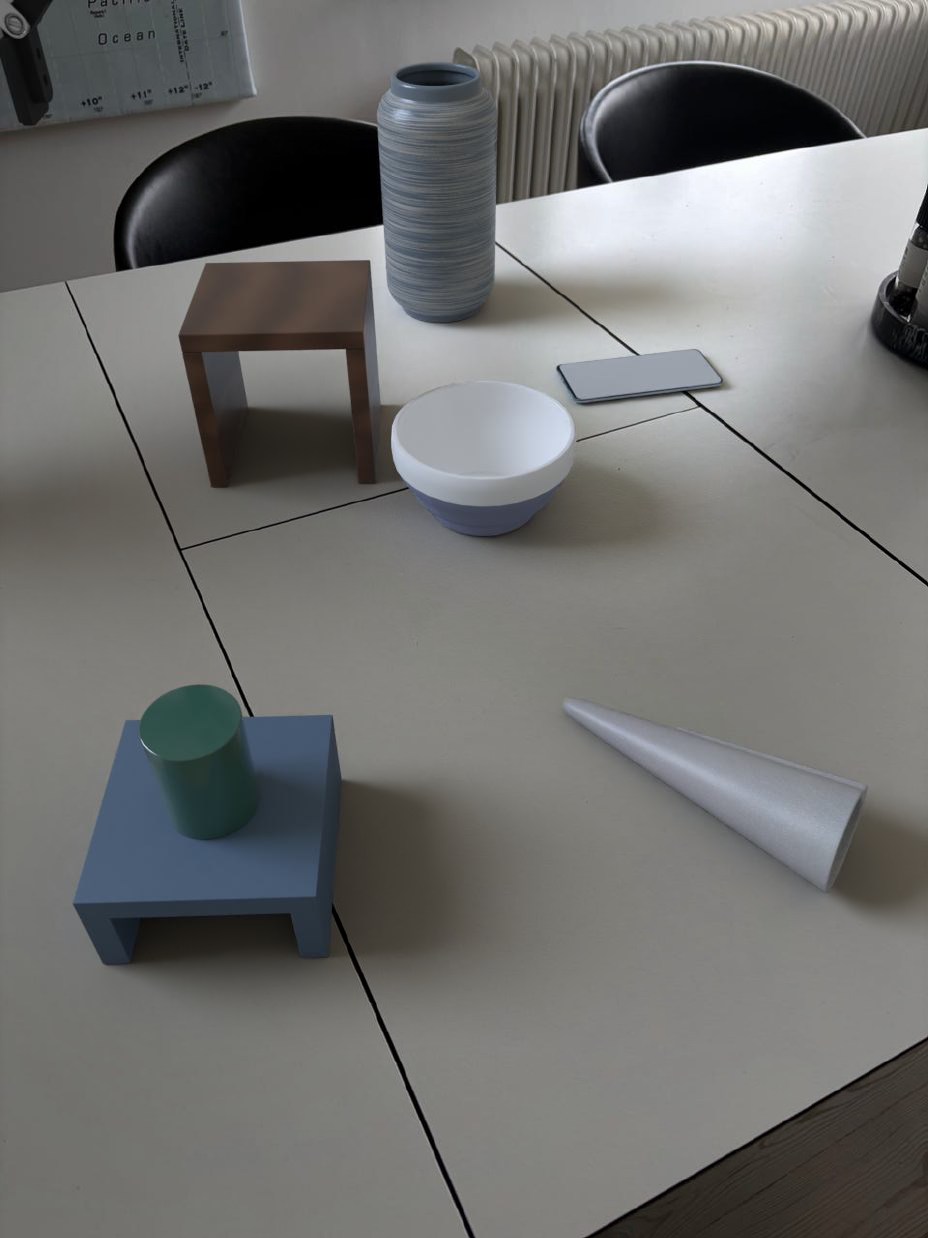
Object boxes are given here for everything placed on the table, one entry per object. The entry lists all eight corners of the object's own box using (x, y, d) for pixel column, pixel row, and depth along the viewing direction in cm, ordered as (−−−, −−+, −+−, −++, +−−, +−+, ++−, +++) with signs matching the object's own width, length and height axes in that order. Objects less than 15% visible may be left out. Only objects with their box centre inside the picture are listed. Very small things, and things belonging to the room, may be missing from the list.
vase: (408, 337, 105) (397, 98, 89) (374, 291, 113) (359, 64, 97) (510, 318, 108) (517, 83, 92) (471, 275, 116) (471, 52, 100)
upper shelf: (210, 487, 85) (177, 334, 76) (232, 406, 95) (205, 262, 85) (375, 483, 86) (363, 331, 76) (380, 403, 95) (370, 259, 86)
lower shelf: (102, 964, 53) (71, 903, 49) (148, 784, 62) (125, 719, 58) (328, 957, 54) (316, 896, 50) (341, 778, 62) (332, 714, 58)
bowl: (374, 476, 86) (367, 398, 81) (530, 443, 90) (533, 366, 85) (427, 579, 76) (424, 497, 71) (600, 537, 80) (609, 457, 75)
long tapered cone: (519, 714, 61) (838, 840, 52) (571, 661, 65) (873, 769, 56) (519, 784, 64) (819, 915, 55) (568, 729, 68) (853, 841, 59)
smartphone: (554, 364, 99) (697, 347, 101) (554, 369, 99) (697, 352, 102) (575, 400, 94) (725, 382, 96) (574, 405, 94) (724, 387, 97)
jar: (157, 841, 52) (128, 761, 48) (175, 765, 56) (149, 684, 51) (254, 839, 52) (234, 759, 48) (265, 763, 56) (247, 682, 51)
